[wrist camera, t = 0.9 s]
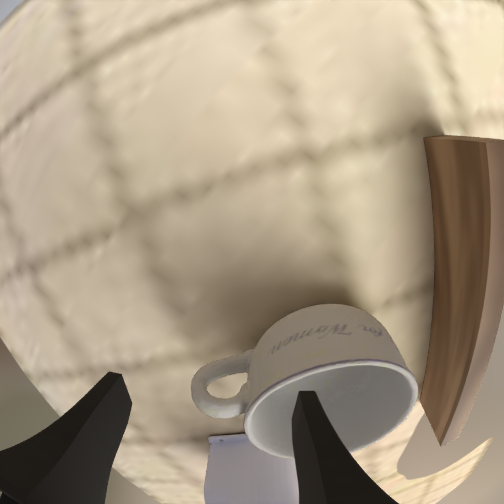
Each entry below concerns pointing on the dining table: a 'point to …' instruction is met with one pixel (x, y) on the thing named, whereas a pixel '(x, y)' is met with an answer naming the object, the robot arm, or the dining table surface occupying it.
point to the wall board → (463, 274)
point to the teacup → (315, 379)
